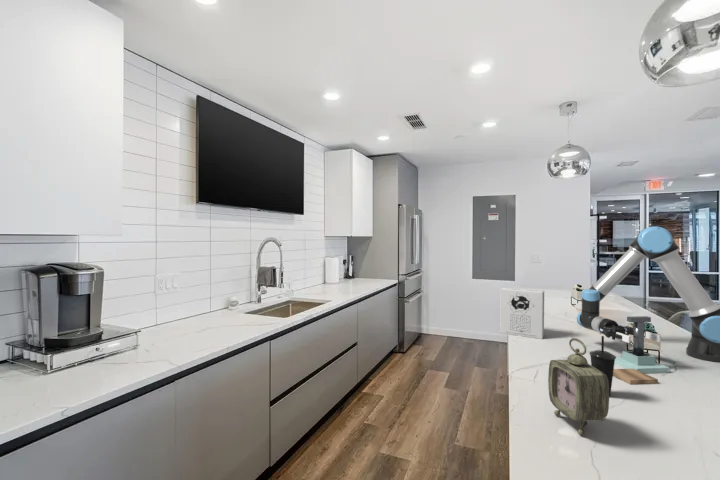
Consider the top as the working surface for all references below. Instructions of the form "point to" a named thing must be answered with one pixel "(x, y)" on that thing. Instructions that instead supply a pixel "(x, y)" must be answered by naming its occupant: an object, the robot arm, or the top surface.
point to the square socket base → (640, 363)
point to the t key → (638, 333)
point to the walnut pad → (633, 376)
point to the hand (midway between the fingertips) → (645, 339)
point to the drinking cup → (603, 362)
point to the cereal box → (522, 312)
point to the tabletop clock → (578, 388)
